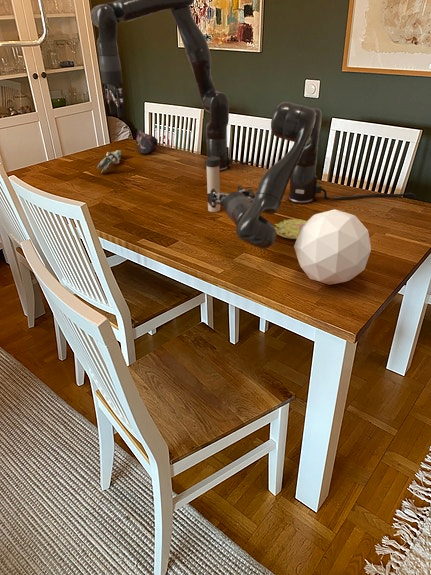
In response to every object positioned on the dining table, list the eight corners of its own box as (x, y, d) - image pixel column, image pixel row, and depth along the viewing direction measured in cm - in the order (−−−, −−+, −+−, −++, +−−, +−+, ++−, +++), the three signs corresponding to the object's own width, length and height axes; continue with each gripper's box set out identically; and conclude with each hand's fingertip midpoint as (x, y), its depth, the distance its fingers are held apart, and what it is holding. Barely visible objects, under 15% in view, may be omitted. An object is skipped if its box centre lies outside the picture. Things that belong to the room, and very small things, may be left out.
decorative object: (286, 211, 157) (342, 219, 147) (286, 217, 158) (341, 226, 148) (260, 233, 142) (319, 243, 133) (260, 240, 144) (319, 251, 134)
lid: (222, 163, 157) (222, 157, 156) (216, 167, 153) (216, 161, 152) (209, 161, 159) (209, 155, 158) (202, 166, 155) (202, 159, 154)
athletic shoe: (143, 144, 221) (166, 143, 225) (132, 120, 233) (154, 119, 237) (142, 163, 229) (164, 162, 234) (131, 139, 241) (152, 138, 245)
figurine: (101, 154, 197) (119, 141, 223) (91, 167, 200) (110, 152, 227) (114, 165, 199) (130, 151, 225) (103, 178, 203) (121, 162, 229)
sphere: (306, 297, 126) (271, 236, 124) (363, 261, 128) (330, 201, 126) (334, 302, 107) (294, 231, 105) (400, 260, 109) (362, 189, 107)
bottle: (222, 208, 166) (221, 158, 156) (217, 212, 162) (215, 162, 152) (211, 206, 168) (209, 157, 157) (205, 210, 164) (203, 160, 154)
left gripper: (127, 70, 159) (133, 117, 168) (113, 66, 169) (119, 111, 178) (107, 71, 156) (114, 120, 164) (94, 68, 166) (101, 113, 175)
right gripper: (263, 194, 127) (247, 176, 141) (215, 199, 125) (203, 181, 138) (262, 218, 131) (247, 199, 145) (215, 223, 129) (204, 203, 142)
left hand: (117, 115), depth 171 cm, fingers open, 8 cm apart
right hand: (225, 190), depth 141 cm, fingers open, 8 cm apart
